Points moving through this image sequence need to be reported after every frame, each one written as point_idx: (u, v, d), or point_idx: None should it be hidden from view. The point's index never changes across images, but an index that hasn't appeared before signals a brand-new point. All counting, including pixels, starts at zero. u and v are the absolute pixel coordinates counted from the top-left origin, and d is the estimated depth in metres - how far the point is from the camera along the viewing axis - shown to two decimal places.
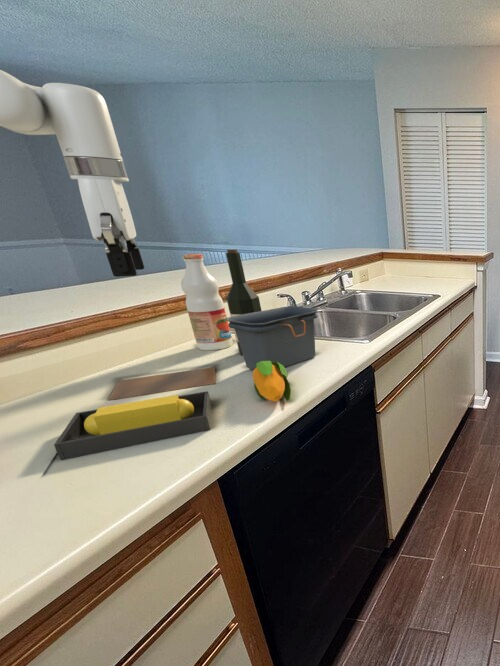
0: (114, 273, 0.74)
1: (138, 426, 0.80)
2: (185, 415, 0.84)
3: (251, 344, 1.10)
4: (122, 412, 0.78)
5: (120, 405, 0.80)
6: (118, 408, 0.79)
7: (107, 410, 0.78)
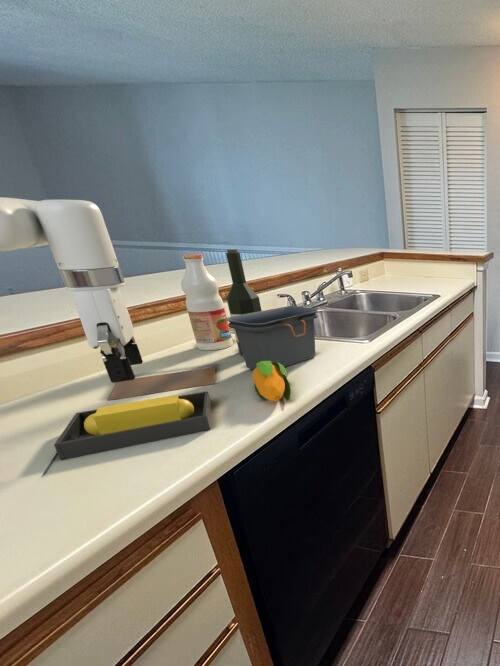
0: (112, 379, 0.73)
1: (138, 426, 0.80)
2: (185, 415, 0.84)
3: (251, 344, 1.09)
4: (122, 412, 0.78)
5: (120, 405, 0.80)
6: (118, 408, 0.79)
7: (107, 410, 0.78)
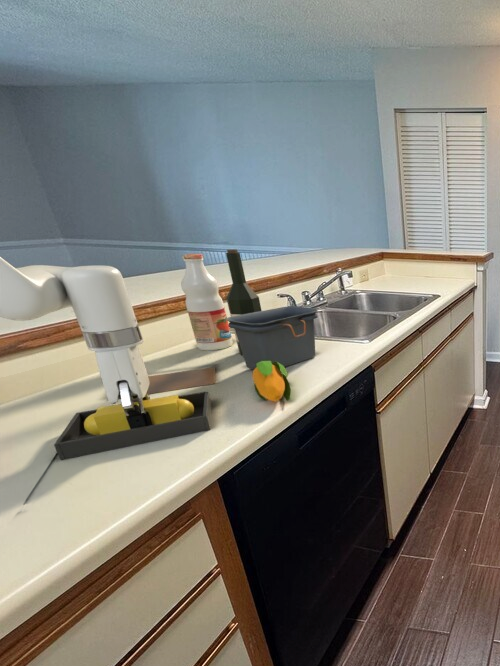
0: None
1: None
2: (185, 415, 0.84)
3: (251, 344, 1.09)
4: (122, 412, 0.78)
5: (120, 405, 0.80)
6: (118, 408, 0.79)
7: (107, 410, 0.78)
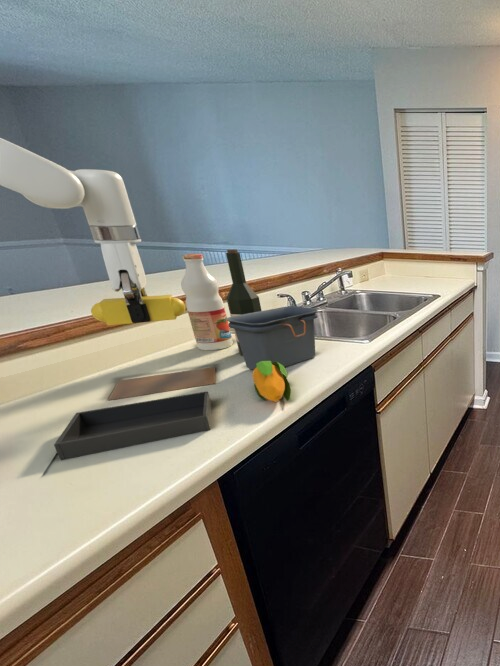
0: (132, 320, 0.93)
1: None
2: (178, 311, 0.97)
3: (251, 344, 1.09)
4: (123, 301, 0.91)
5: (122, 298, 0.94)
6: (120, 299, 0.93)
7: (111, 300, 0.92)
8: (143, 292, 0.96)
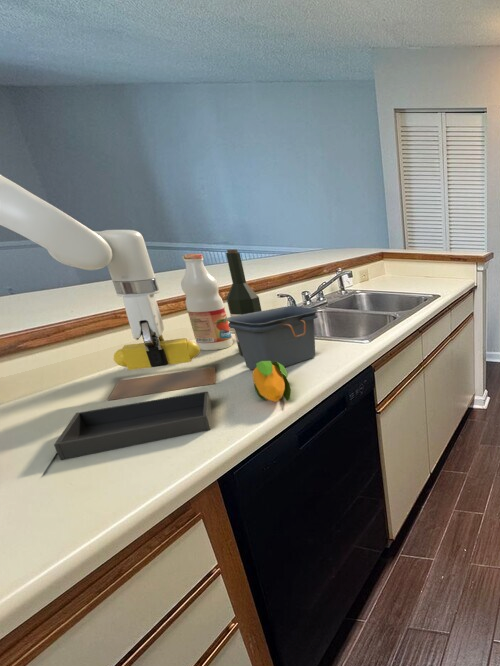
0: (151, 365, 1.00)
1: None
2: (193, 354, 1.04)
3: (251, 344, 1.09)
4: (143, 347, 0.98)
5: (141, 343, 1.01)
6: (140, 345, 1.00)
7: (131, 346, 0.99)
8: (160, 337, 1.03)
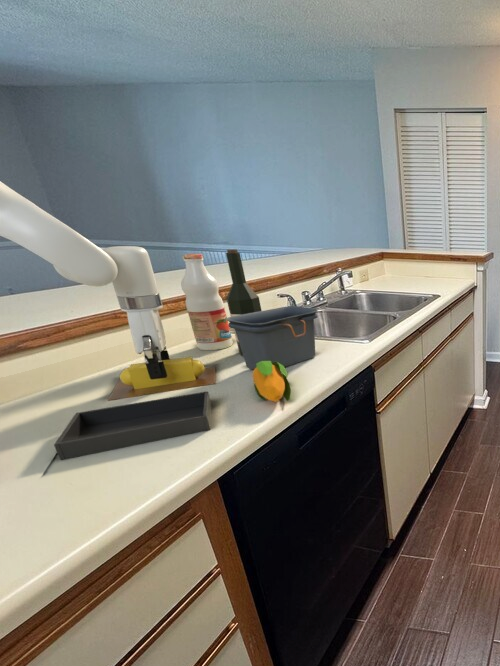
0: (151, 377, 0.98)
1: (161, 379, 1.02)
2: (198, 372, 1.06)
3: (251, 344, 1.09)
4: None
5: None
6: None
7: (138, 366, 1.01)
8: None
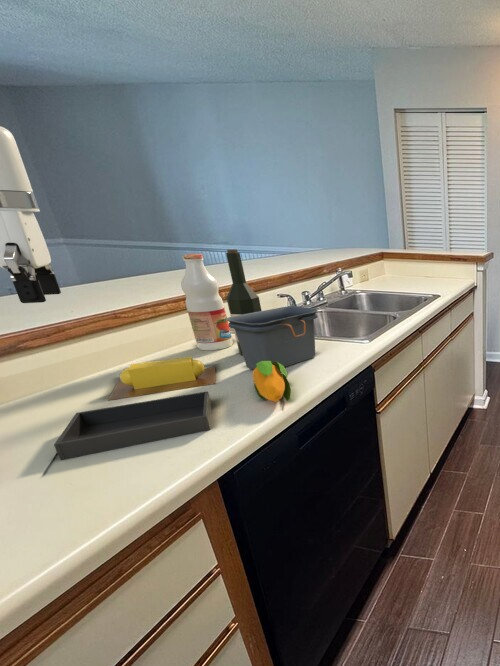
0: (21, 300, 0.77)
1: (161, 379, 1.02)
2: (198, 372, 1.06)
3: (251, 344, 1.09)
4: (149, 367, 1.00)
5: (147, 363, 1.03)
6: (146, 364, 1.01)
7: (138, 366, 1.01)
8: (47, 268, 0.84)
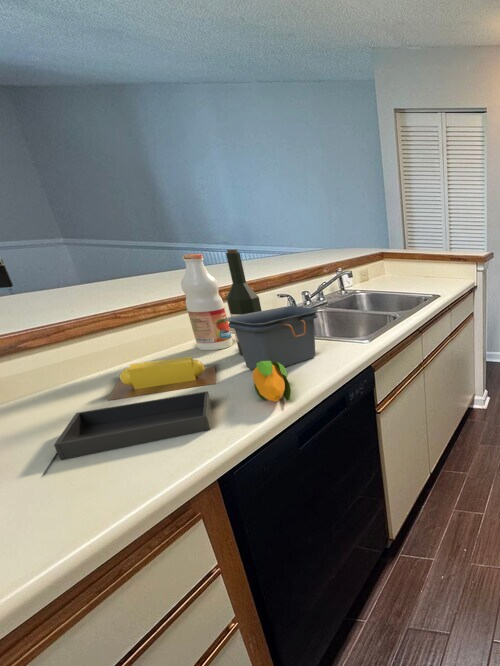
0: None
1: (161, 379, 1.02)
2: (198, 372, 1.06)
3: (251, 344, 1.09)
4: (149, 367, 1.00)
5: (147, 363, 1.03)
6: (146, 364, 1.01)
7: (138, 366, 1.01)
8: None
